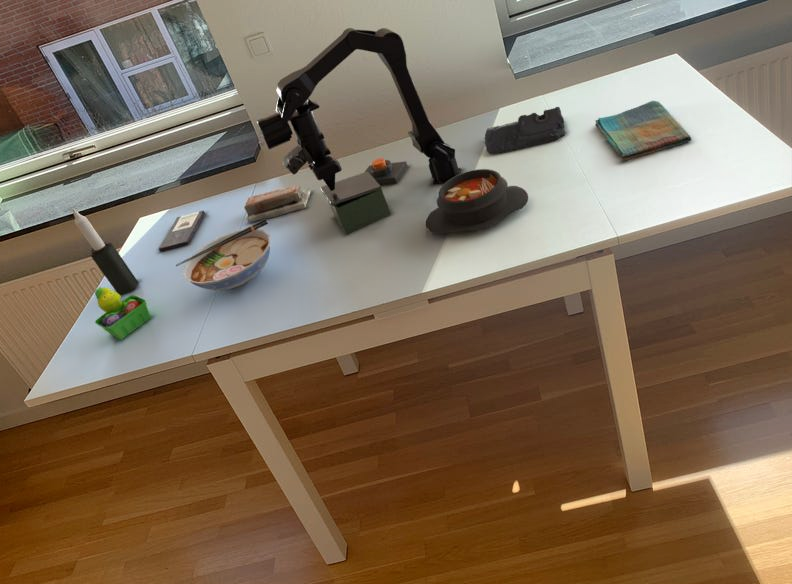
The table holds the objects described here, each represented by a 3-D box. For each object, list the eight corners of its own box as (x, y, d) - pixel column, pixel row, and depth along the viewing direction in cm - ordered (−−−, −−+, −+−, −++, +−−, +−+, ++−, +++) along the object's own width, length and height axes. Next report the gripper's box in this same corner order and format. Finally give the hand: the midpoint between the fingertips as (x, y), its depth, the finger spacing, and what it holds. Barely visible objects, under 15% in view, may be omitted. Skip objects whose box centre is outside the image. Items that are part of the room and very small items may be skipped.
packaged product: (240, 209, 197) (247, 192, 204) (247, 224, 200) (255, 207, 207) (299, 193, 193) (305, 177, 201) (306, 208, 196) (311, 192, 204)
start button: (388, 163, 197) (386, 157, 195) (383, 169, 194) (381, 164, 193) (376, 164, 198) (374, 159, 197) (372, 171, 196) (369, 165, 195)
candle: (122, 285, 192) (66, 206, 177) (139, 280, 192) (84, 200, 176) (117, 296, 188) (59, 216, 173) (134, 290, 188) (78, 210, 172)
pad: (408, 167, 199) (404, 155, 196) (396, 183, 193) (392, 171, 190) (371, 171, 203) (367, 160, 201) (359, 187, 197) (354, 176, 195)
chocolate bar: (158, 248, 201) (177, 217, 215) (160, 251, 202) (178, 220, 216) (186, 241, 200) (203, 210, 213) (188, 244, 200) (205, 213, 214)
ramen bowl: (200, 322, 166) (182, 294, 161) (188, 281, 183) (172, 255, 178) (296, 275, 170) (282, 247, 165) (276, 240, 187) (262, 213, 182)
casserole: (521, 183, 173) (514, 152, 168) (537, 219, 158) (529, 186, 153) (424, 213, 175) (414, 183, 170) (431, 251, 161) (420, 220, 155)
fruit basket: (119, 345, 168) (91, 308, 161) (103, 335, 174) (75, 300, 167) (157, 316, 174) (132, 279, 167) (141, 308, 179) (116, 272, 172)
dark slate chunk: (486, 133, 201) (482, 118, 198) (562, 115, 196) (560, 98, 193) (485, 157, 189) (481, 141, 186) (567, 138, 184) (564, 121, 181)
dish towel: (659, 107, 183) (658, 97, 182) (693, 141, 165) (692, 131, 164) (595, 127, 185) (593, 118, 183) (621, 163, 167) (620, 153, 165)
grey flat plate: (331, 205, 173) (330, 203, 172) (320, 190, 182) (319, 187, 181) (381, 189, 175) (380, 186, 175) (368, 174, 184) (367, 171, 184)
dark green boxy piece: (346, 234, 178) (335, 209, 174) (335, 217, 187) (324, 193, 183) (391, 214, 180) (381, 189, 175) (377, 198, 189) (368, 174, 184)
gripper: (269, 134, 173) (295, 190, 183) (284, 157, 159) (311, 216, 169) (311, 116, 175) (334, 173, 184) (329, 137, 160) (353, 197, 170)
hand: (332, 189), depth 177 cm, fingers closed
